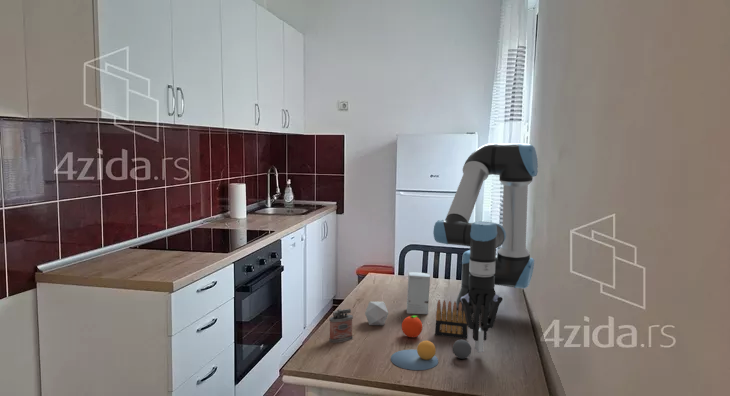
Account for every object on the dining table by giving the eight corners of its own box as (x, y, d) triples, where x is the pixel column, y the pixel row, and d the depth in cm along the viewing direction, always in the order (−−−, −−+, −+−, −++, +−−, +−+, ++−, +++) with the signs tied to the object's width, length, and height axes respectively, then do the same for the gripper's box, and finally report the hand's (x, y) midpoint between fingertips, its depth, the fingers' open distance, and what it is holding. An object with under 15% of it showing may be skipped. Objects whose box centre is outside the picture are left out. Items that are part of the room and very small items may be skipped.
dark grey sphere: (455, 333, 150) (446, 349, 150) (462, 341, 145) (453, 357, 145) (469, 340, 152) (461, 356, 152) (477, 348, 147) (468, 364, 147)
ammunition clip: (467, 336, 166) (468, 301, 164) (467, 338, 164) (468, 303, 163) (435, 333, 169) (436, 298, 167) (434, 334, 167) (435, 300, 166)
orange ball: (429, 334, 150) (412, 342, 149) (434, 341, 144) (416, 349, 144) (435, 351, 151) (418, 358, 150) (440, 358, 145) (423, 365, 145)
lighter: (331, 343, 158) (332, 313, 157) (327, 339, 161) (327, 309, 160) (354, 339, 162) (354, 309, 161) (349, 335, 165) (350, 306, 164)
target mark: (430, 349, 155) (430, 348, 155) (444, 368, 141) (444, 368, 141) (386, 351, 153) (386, 350, 153) (396, 371, 139) (396, 370, 139)
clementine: (410, 330, 171) (411, 310, 170) (427, 335, 166) (428, 314, 165) (397, 337, 164) (397, 316, 164) (414, 342, 160) (415, 321, 159)
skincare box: (406, 313, 187) (407, 275, 186) (406, 308, 193) (407, 271, 192) (429, 314, 187) (430, 276, 185) (428, 309, 193) (429, 272, 191)
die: (380, 331, 171) (394, 307, 173) (359, 318, 172) (373, 294, 174) (379, 331, 179) (393, 308, 181) (359, 318, 180) (373, 295, 182)
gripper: (465, 277, 143) (462, 356, 145) (508, 276, 145) (504, 354, 147) (456, 271, 150) (454, 346, 153) (497, 270, 152) (494, 344, 154)
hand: (478, 350), depth 150 cm, fingers closed
